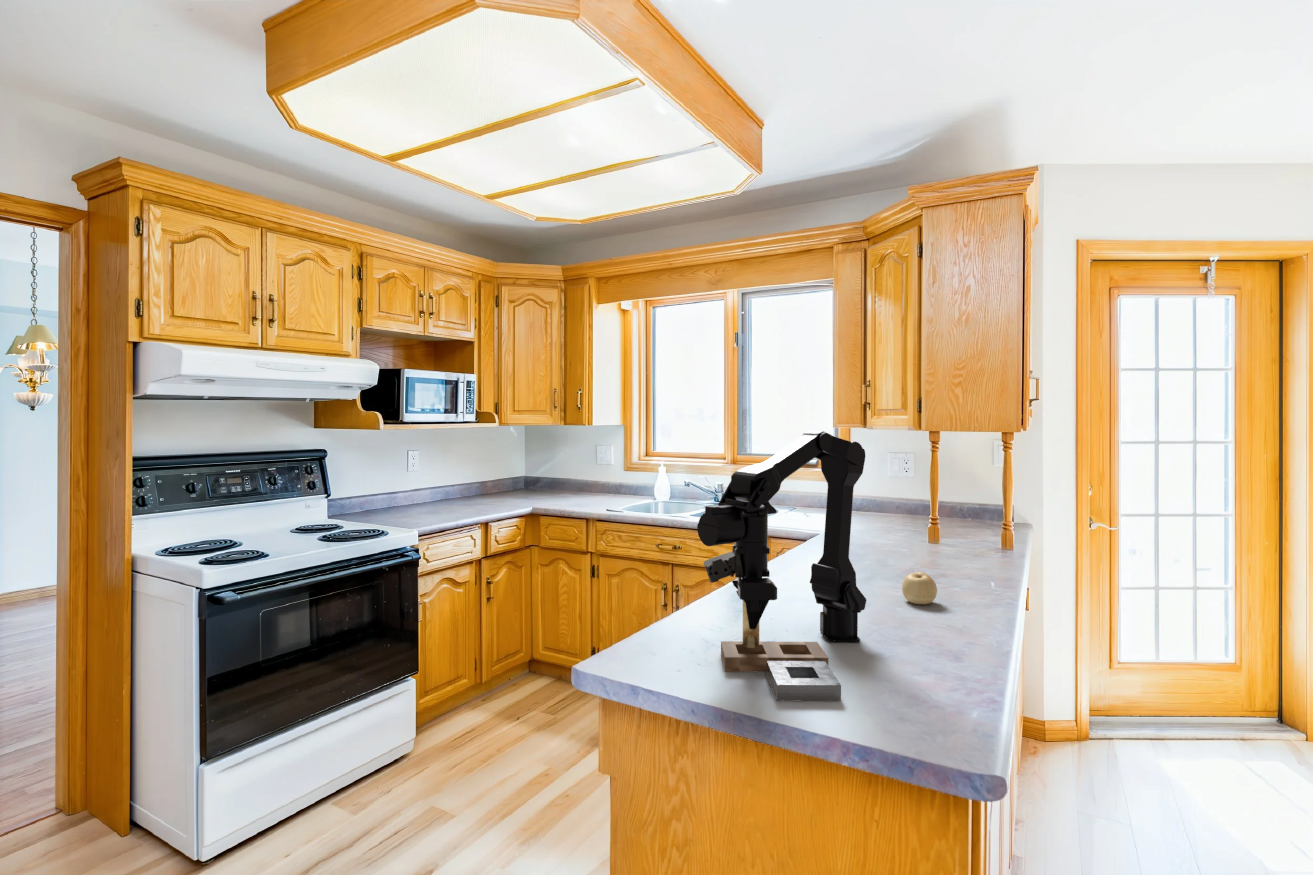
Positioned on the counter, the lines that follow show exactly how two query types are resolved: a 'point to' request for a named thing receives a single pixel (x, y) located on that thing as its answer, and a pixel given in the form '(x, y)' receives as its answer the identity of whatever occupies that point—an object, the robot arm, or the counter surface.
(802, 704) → the counter surface
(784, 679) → the socket block
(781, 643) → the rack
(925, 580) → the apple
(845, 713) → the counter surface
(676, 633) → the counter surface
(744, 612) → the peg
